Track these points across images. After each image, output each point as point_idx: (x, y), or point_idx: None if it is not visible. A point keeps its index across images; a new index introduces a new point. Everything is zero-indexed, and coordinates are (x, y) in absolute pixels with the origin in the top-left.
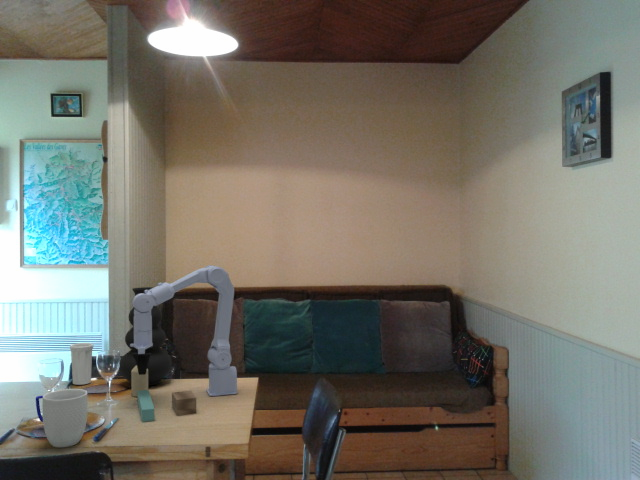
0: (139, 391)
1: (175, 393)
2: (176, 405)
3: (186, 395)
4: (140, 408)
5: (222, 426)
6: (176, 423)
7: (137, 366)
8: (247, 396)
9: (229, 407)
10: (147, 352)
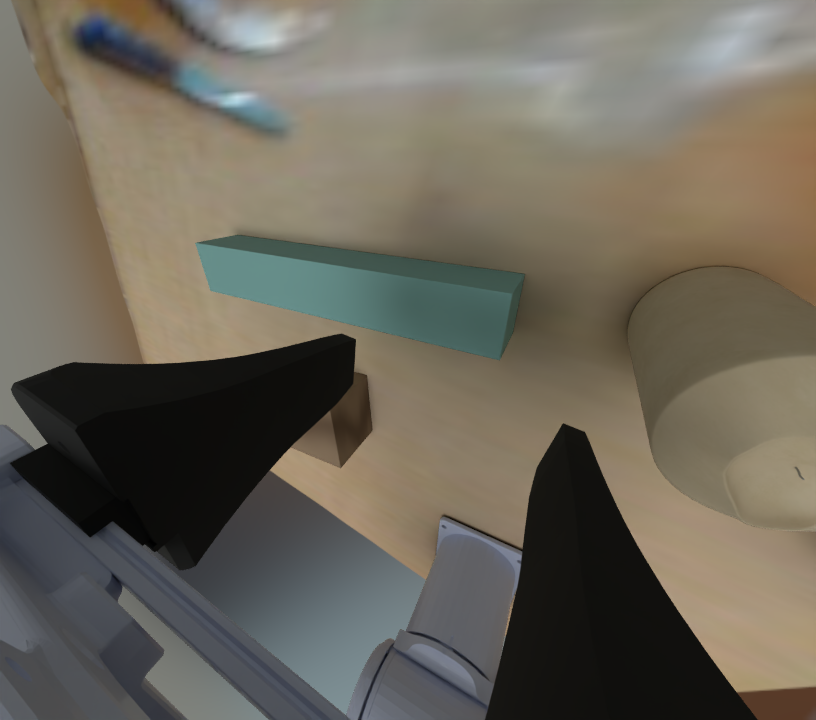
0: (490, 302)
1: None
2: None
3: None
4: (288, 249)
5: None
6: (228, 328)
7: (266, 353)
8: (406, 560)
9: (329, 482)
10: (504, 687)
